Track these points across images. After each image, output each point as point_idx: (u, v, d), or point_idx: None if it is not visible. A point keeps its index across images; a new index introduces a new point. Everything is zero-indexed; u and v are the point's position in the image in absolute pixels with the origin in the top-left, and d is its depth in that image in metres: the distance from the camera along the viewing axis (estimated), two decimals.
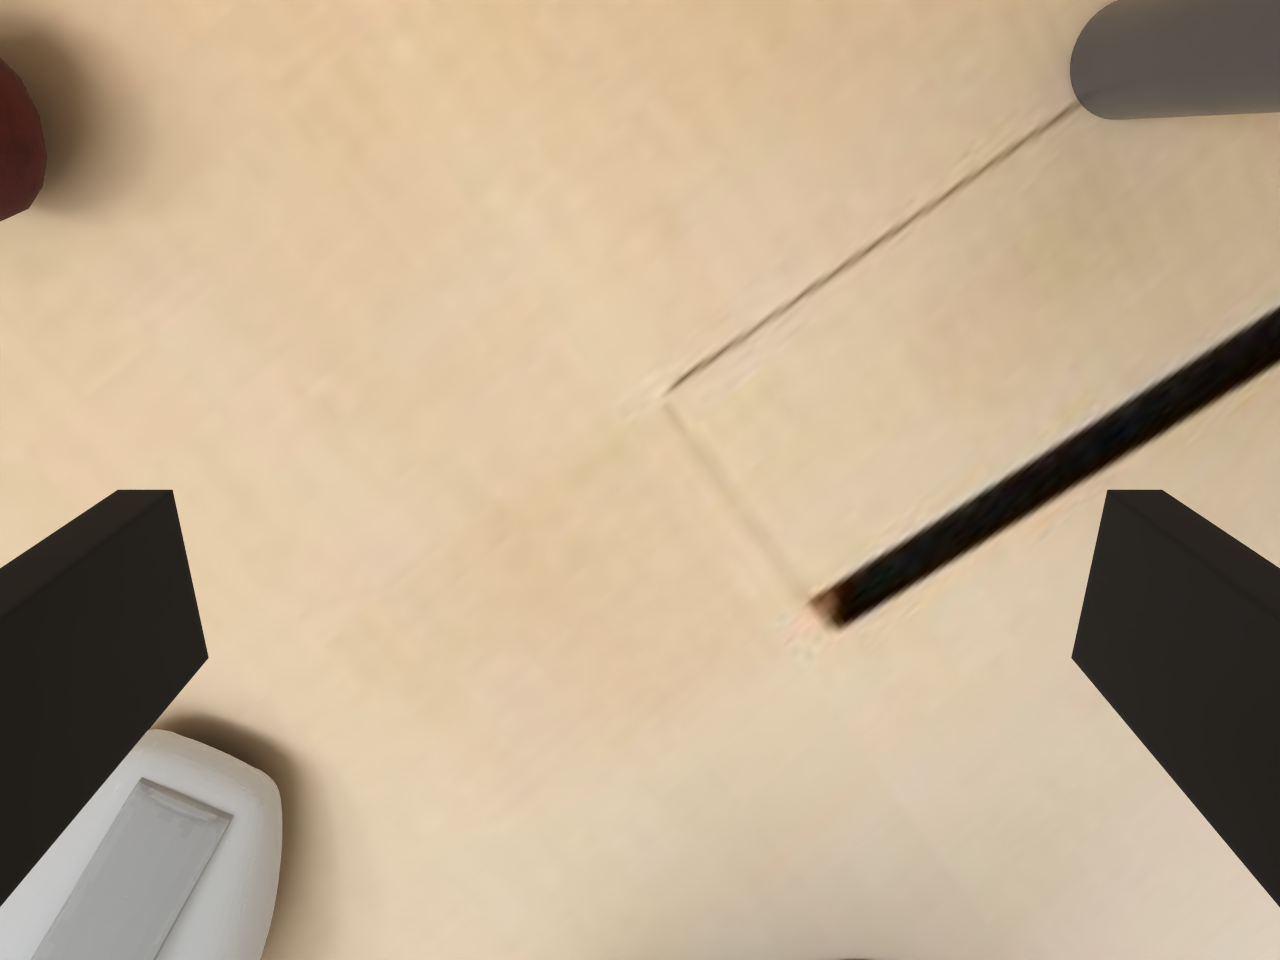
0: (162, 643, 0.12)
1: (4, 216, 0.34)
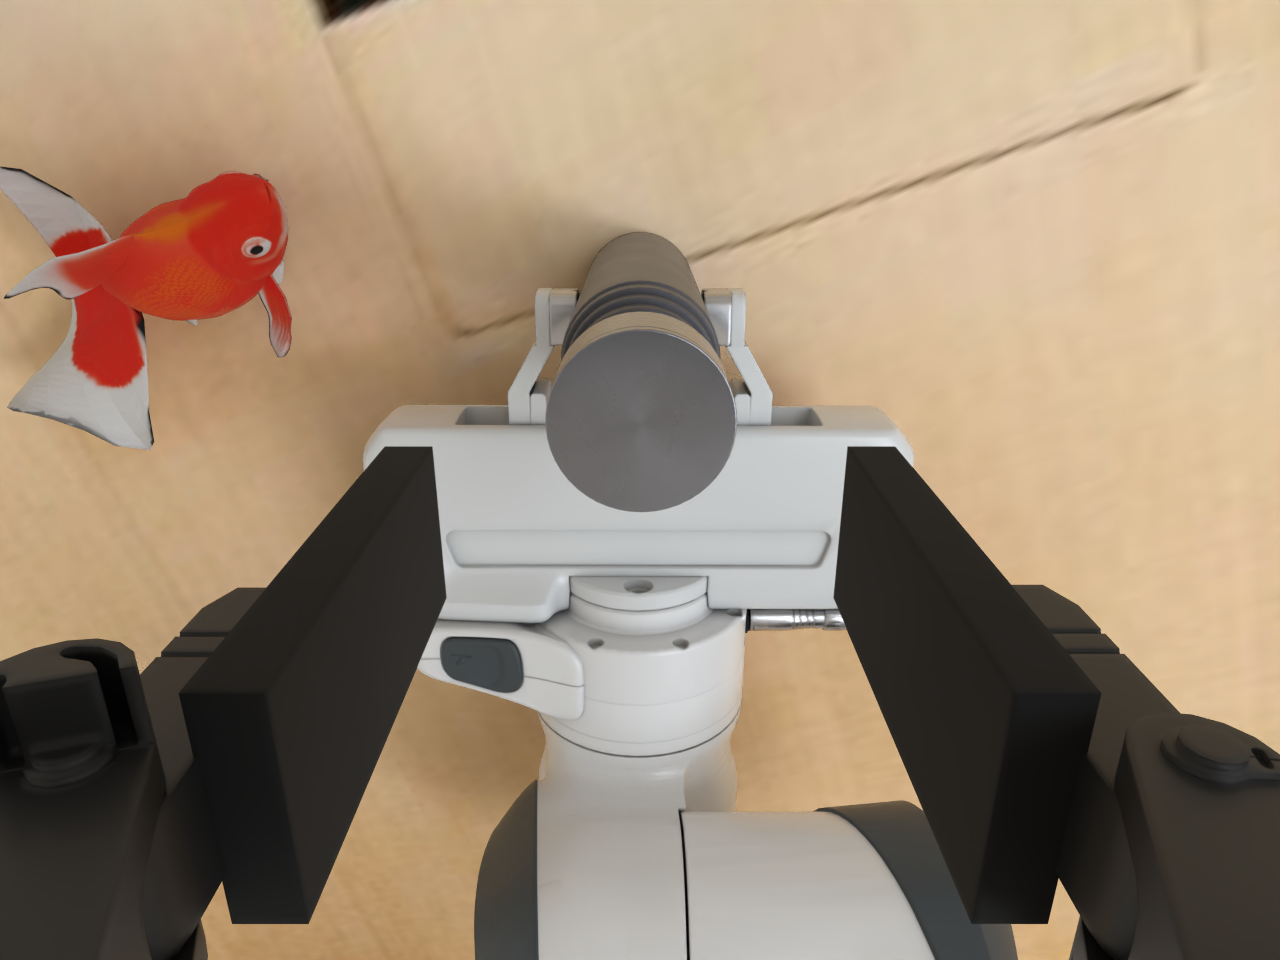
0: (428, 579, 0.13)
1: None
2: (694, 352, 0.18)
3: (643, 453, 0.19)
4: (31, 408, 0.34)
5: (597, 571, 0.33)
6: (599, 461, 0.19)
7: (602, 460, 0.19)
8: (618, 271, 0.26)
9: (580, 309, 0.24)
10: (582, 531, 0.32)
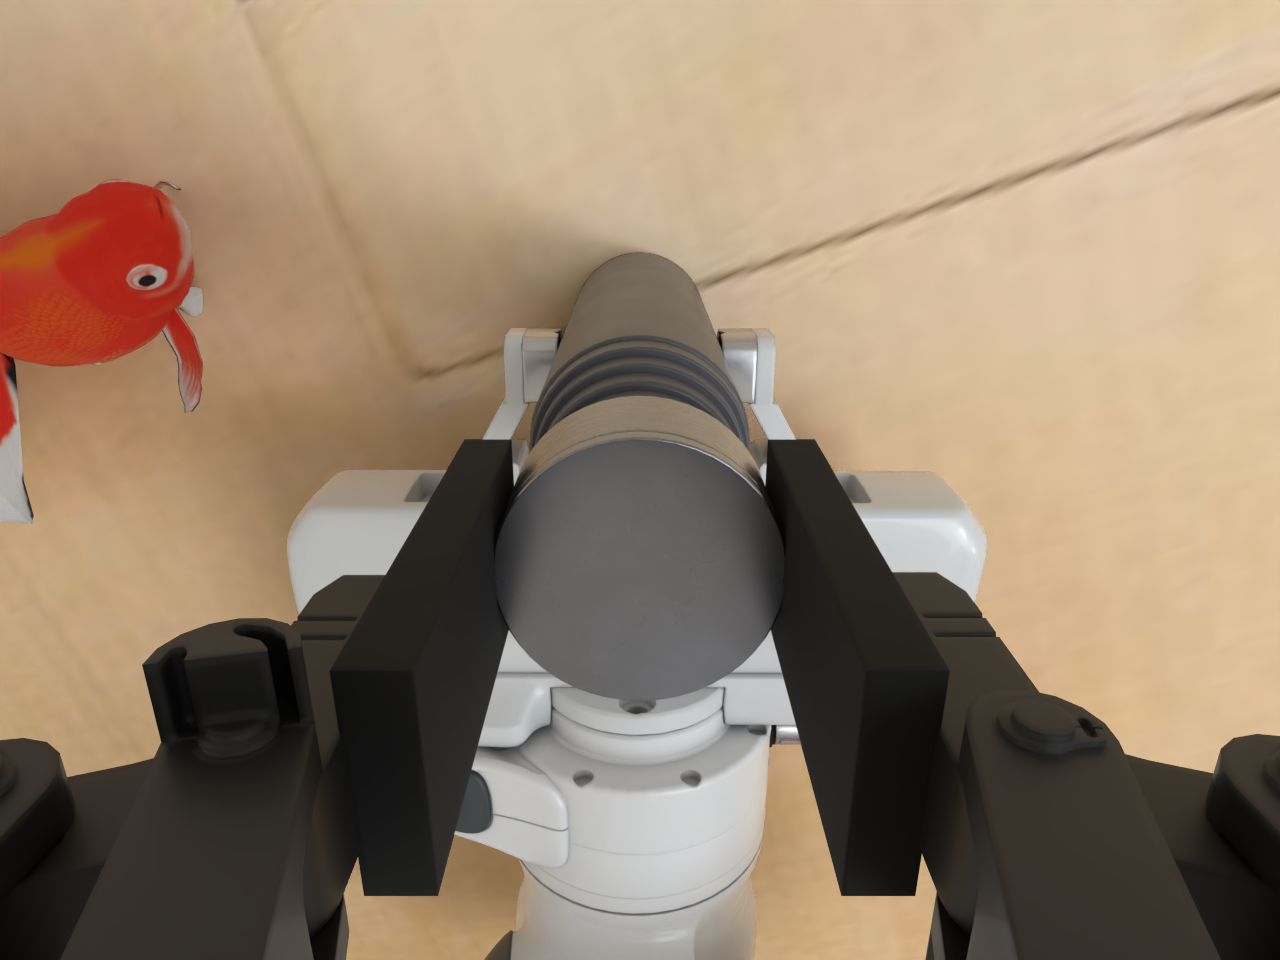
0: None
1: None
2: (723, 472, 0.12)
3: (644, 619, 0.13)
4: None
5: None
6: (576, 630, 0.13)
7: (580, 629, 0.13)
8: (609, 316, 0.19)
9: (556, 374, 0.17)
10: None
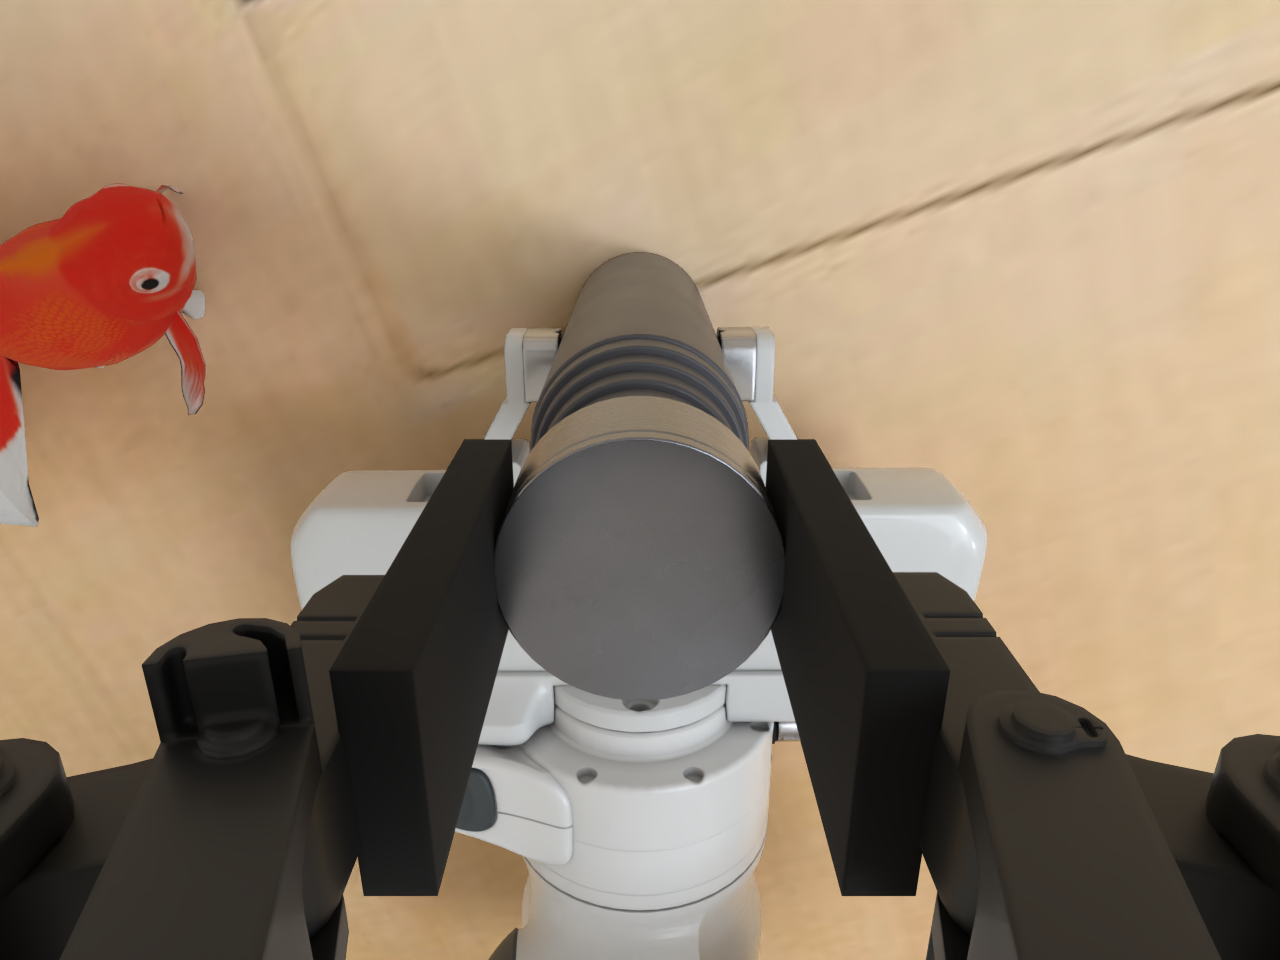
0: None
1: None
2: (506, 538, 0.12)
3: (683, 562, 0.12)
4: None
5: None
6: (714, 617, 0.13)
7: (712, 613, 0.13)
8: (609, 315, 0.19)
9: (556, 373, 0.17)
10: None
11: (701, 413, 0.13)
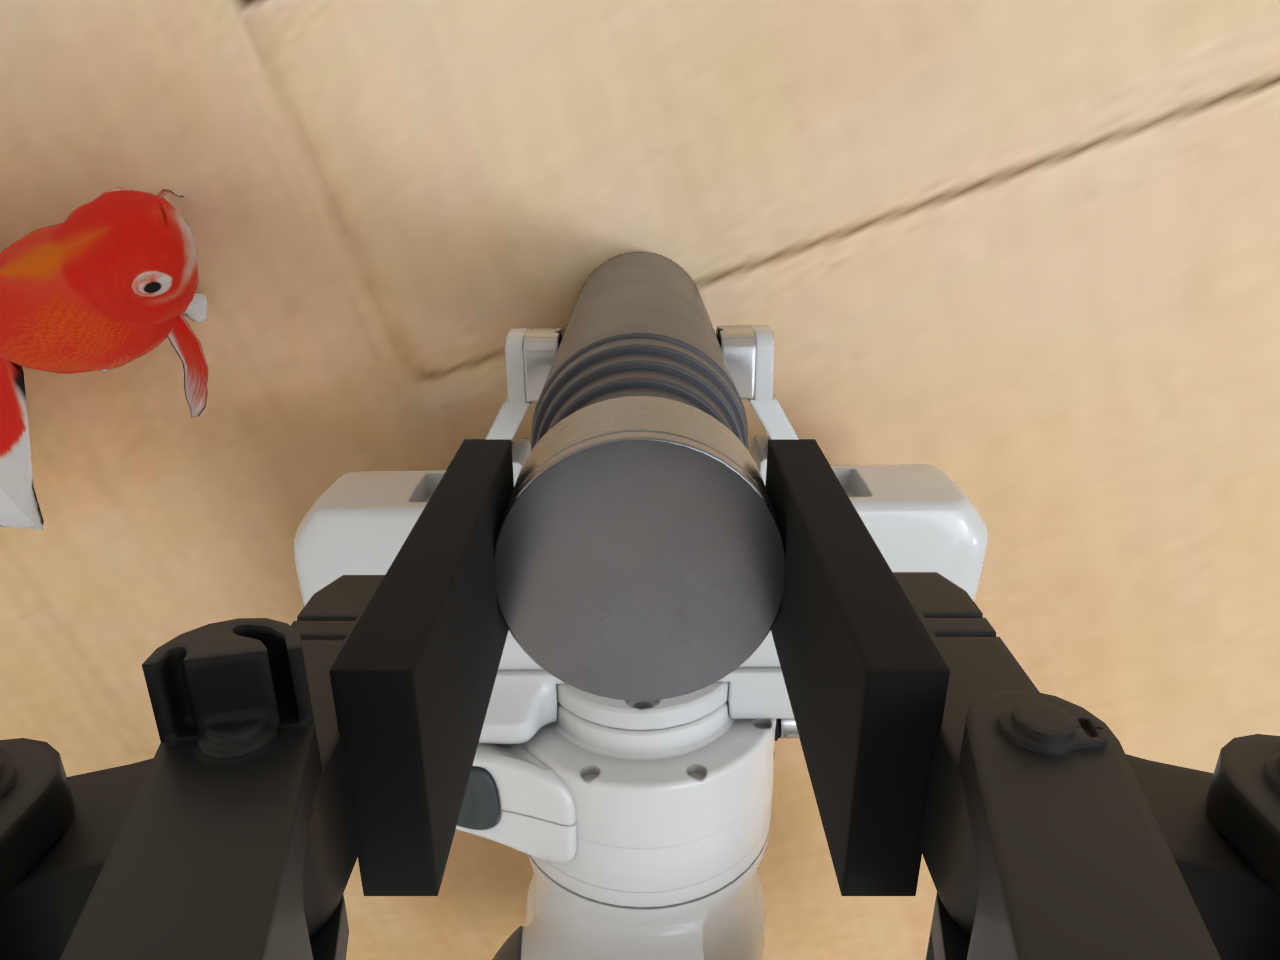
0: None
1: None
2: (637, 693, 0.13)
3: (610, 545, 0.12)
4: None
5: None
6: (661, 498, 0.12)
7: (657, 502, 0.12)
8: (608, 314, 0.20)
9: (556, 372, 0.17)
10: None
11: None
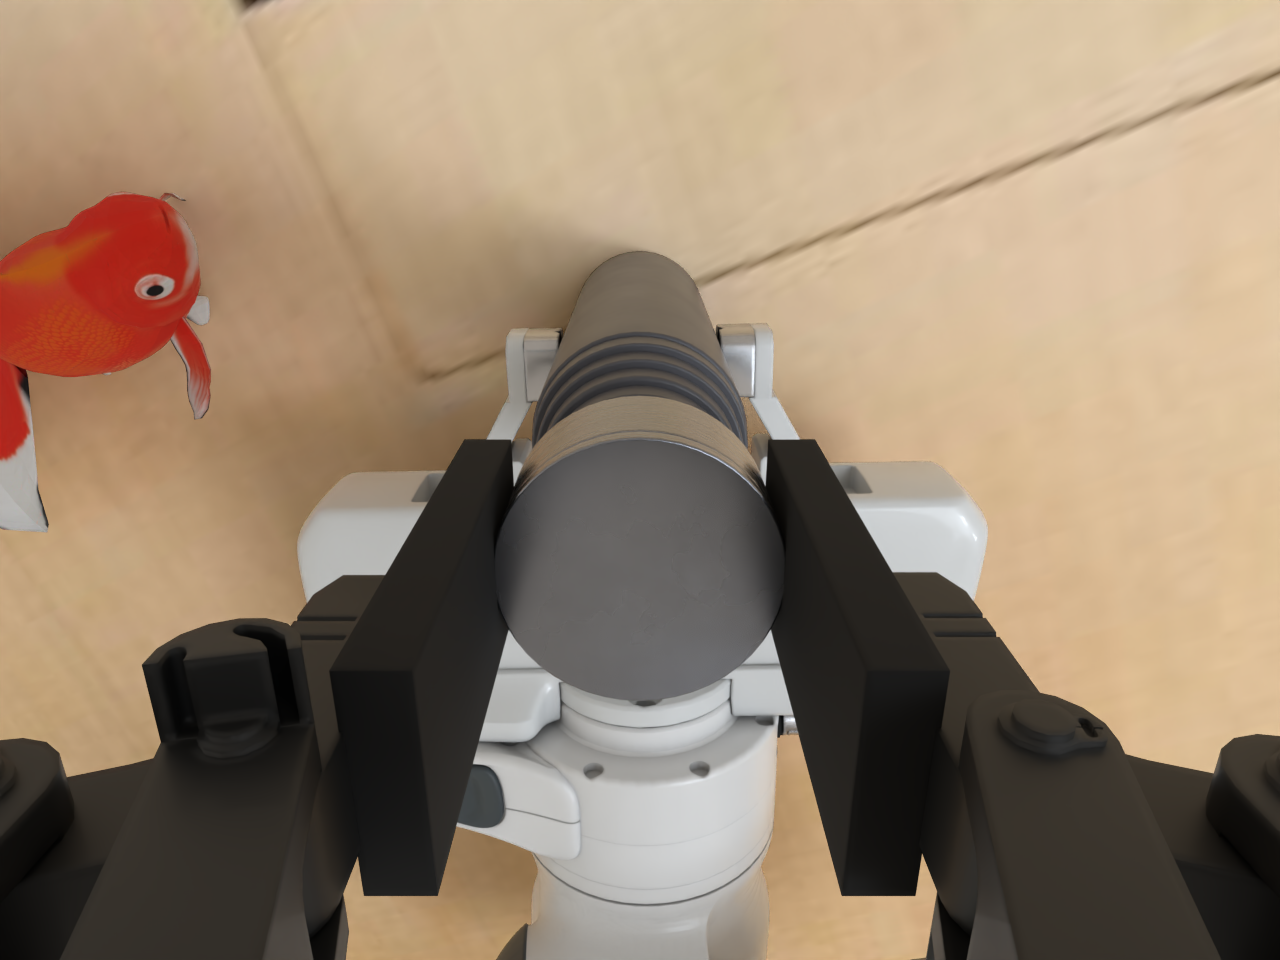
0: None
1: None
2: (774, 543, 0.12)
3: (613, 612, 0.13)
4: None
5: None
6: (551, 583, 0.12)
7: (556, 584, 0.12)
8: (608, 314, 0.20)
9: (556, 372, 0.18)
10: None
11: None
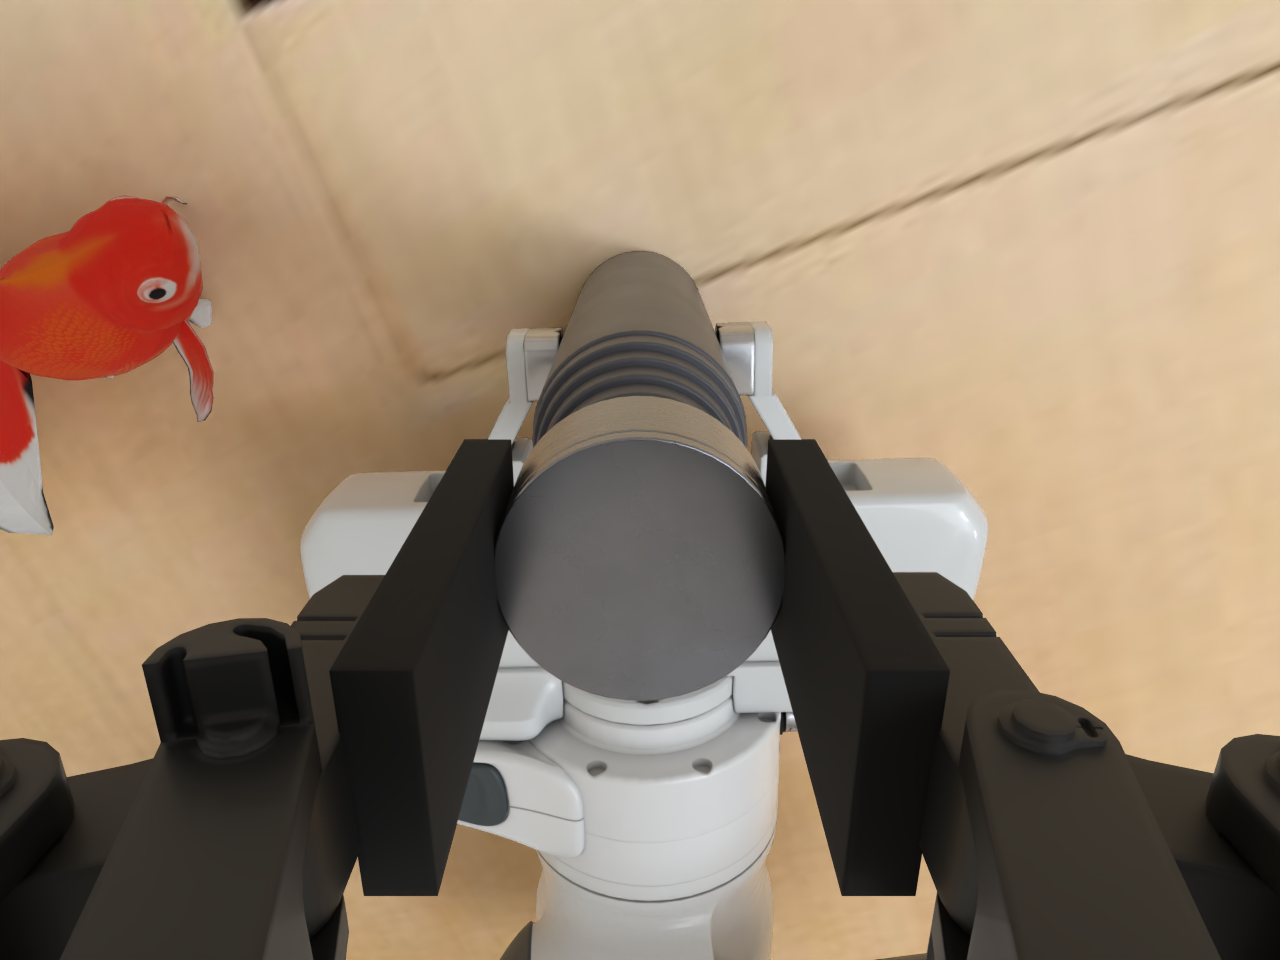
0: None
1: None
2: (560, 469, 0.12)
3: (684, 590, 0.12)
4: None
5: None
6: (669, 649, 0.13)
7: (670, 645, 0.13)
8: (607, 313, 0.20)
9: (556, 371, 0.18)
10: None
11: (760, 475, 0.14)
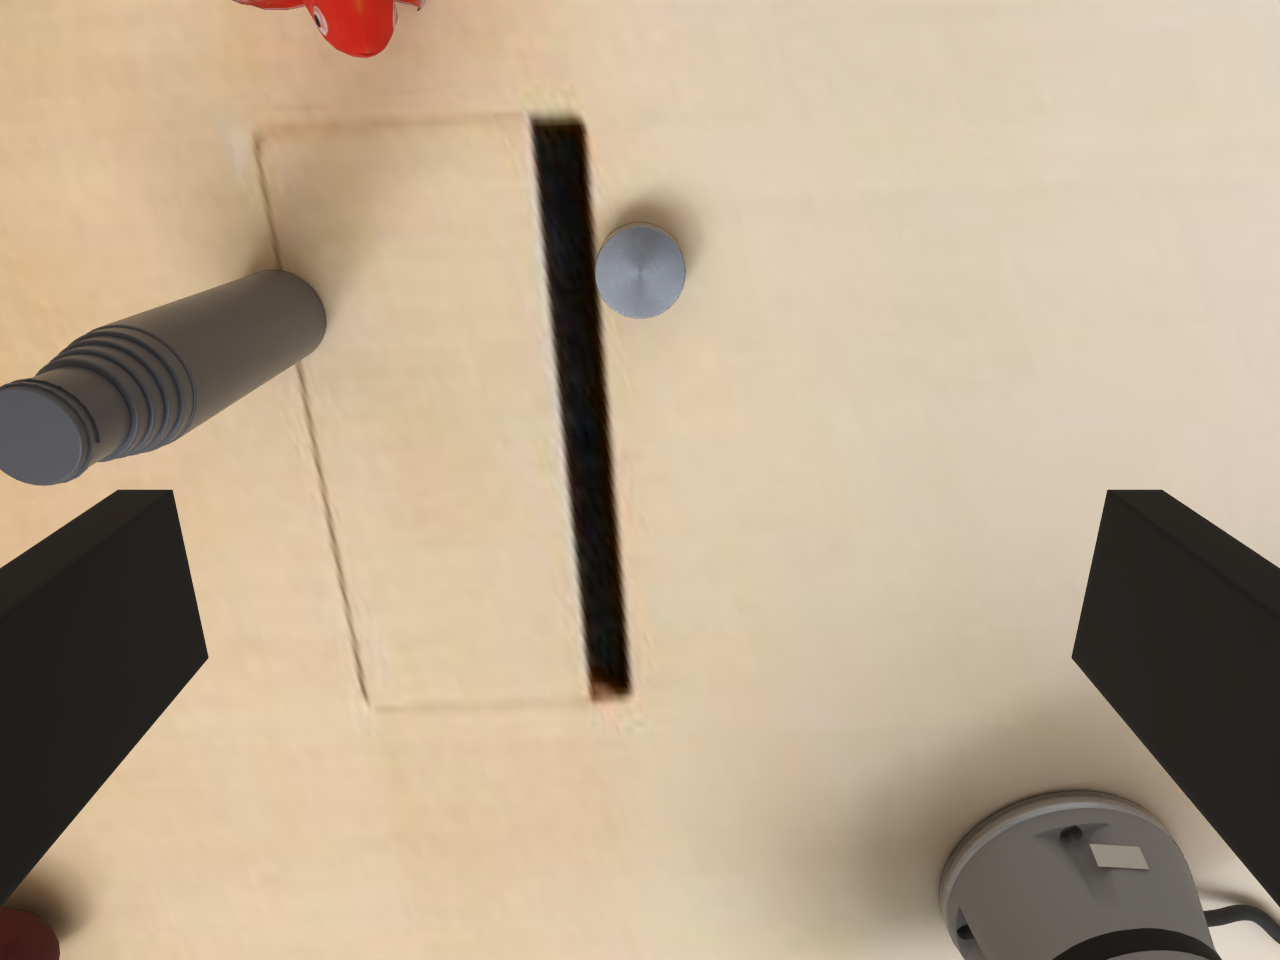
0: (162, 643, 0.12)
1: None
2: (616, 236, 0.40)
3: (653, 277, 0.40)
4: None
5: None
6: (649, 299, 0.41)
7: (649, 297, 0.41)
8: (227, 369, 0.33)
9: (177, 354, 0.30)
10: None
11: None
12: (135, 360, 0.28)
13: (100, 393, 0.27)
